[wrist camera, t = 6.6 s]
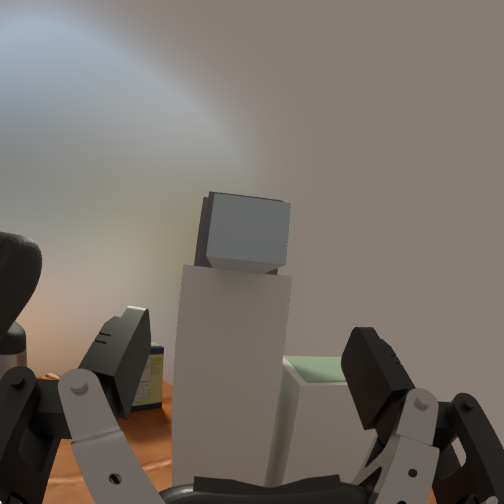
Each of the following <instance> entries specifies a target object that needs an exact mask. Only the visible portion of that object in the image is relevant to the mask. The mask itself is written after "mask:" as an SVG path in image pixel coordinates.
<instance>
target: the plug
mask: <svg viewBox="0 0 504 504" xmlns="http://www.w3.org/2000/svg"><path fill="white" fill-rule="evenodd" d="M289 217H290V203H286V202H283V201H280V200H273V199H266V198H259V197H251V196H243V195H235V194H226V193H218V192H209V197H208V204H207V210H206V217H205V224H204V231H203V239H202V246H201V254H200V262H199V266H200V267H208V268H217V269H225V270H234V271H243V272H252V273H261V274H270V275H277V270H278V268H279V267H281V266H284V265H285V264H286V254H287V243H288V230H289Z"/></svg>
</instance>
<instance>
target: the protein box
mask: <svg viewBox="0 0 504 504" xmlns="http://www.w3.org/2000/svg"><path fill="white" fill-rule="evenodd" d="M163 353H164V347H162V346H160V345H157V344H156V343H153V342H151V350H150V355H149V357H148V360H147V363H146V366H145V369H144V371H143V374H142V377H141V380H140V383H139V386H138V389H137V392H136V395H135V398H134V401H133V404H132V407H131V410H130V411H136V410H144V409H150V408H157V407H162V375H163V356H164V354H163Z"/></svg>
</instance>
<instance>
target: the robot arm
mask: <svg viewBox="0 0 504 504" xmlns="http://www.w3.org/2000/svg"><path fill="white" fill-rule="evenodd" d="M41 268H42V255H41V251H40V249H39V247H38V245H37V244H36V243H35V242H34V241H33V240H31V239H29V238H27V237H24V236H21V235H16V234H10V233H5V232H0V504H42V502H43V498H44V494H45V490H46V486H47V483H48V479H49V476H50V472H51V469H52V465H53V462H54V459H55V456H56V453H57V450H58V447H59V444H60V441H61V439H72V440H73V442H71V446H72V450H73V453H74V456H75V459H76V461H77V464H78V466H79V469H80V471H81V474H82V476H83V478H84V481H85V483H86V485H87V487H88V489H89V492H90V494H91V496H92V498H93V500H94V502H95V504H427V500H428V497H429V494H430V490H431V486H432V489H433V492H434V495H435V498H436V502H437V504H504V449H503V447H502V445H501V443H500V441H499V439H498V437H497V435H496V433H495V431H494V430H493V428H492V426H491V424H490V422H489V420H488V419H487V417H486V415H485V413H484V412H483V410H482V408H481V407H480V405H479V403H478V402H477V400H476V399H475V398H474V397H473V396H471V395H469V394H467V393H459V394H457V395H456V396H455V398H454V399H453V400H452V401H451V403H450V402H439V401H437V399H436V398H435V397H434V395H433V394H432V393H430V392H429V391H427V390H424V389H420V388H415V386H414V384H413V383H412V381H411V379H410V378H409V376H408V374H407V372H406V371H405V369H404V367H403V366H402V364H400V361H399V359H398V357H396V354H395V353H394V351H393V349H392V348H391V346H390V345H388V344H387V343H386V342H385V341H384V340H383V339H380V338H379V336H378V334H377V333H376V331H375V330H374V328H372V327H355V328H354V329H353V330H352V332H351V335H350V337H349V340H348V342H347V345H346V347H345V350H344V352H343V355H342V358H341V369H342V372H343V374H344V377H345V380H346V382H347V385H348V388H349V390H350V393H351V396H352V398H353V401H354V404H355V406H356V409H357V412H358V415H359V418H360V420H361V423H362V426H363V429H364V430H370V429H375V430H376V432H377V435H376V436H375V438H374V440H373V442H372V445H371V447H370V449H369V451H368V454H367V456H366V458H365V460H364V462H363V464H362V467H361V469H360V471H359V472H358V474H357V475H356V477H355V478H354V479H353V481H352V482H351V483H346V482H341V481H340V476H339V474H336V475H329V476H320V477H311V478H305V479H301V480H298V481H295V482H291V483H288V484H284V485H280V486H277V487H271V488H269V487H263V486H258V485H253V484H249V483H245V482H241V481H237V480H233V479H220V478H209V477H199V476H194V483H191V484H183V485H178V486H174V487H171V488H168V489H165V490H163V491H161V492H159V493H158V492H157V490H156V489H155V487H154V486H153V484H152V483H151V481H150V479H149V478H148V476H147V475H146V473H145V471H144V470H143V468H142V466H141V465H140V463H139V461H138V460H137V458H136V456H135V454H134V452H133V451H132V449H131V447H130V445H129V443H128V441H127V439H126V438H125V436H124V434H123V432H122V430H121V429H120V427H119V425H118V423H117V418H121V419H125V420H127V419H128V416H129V413H130V410H131V407H132V404H133V401H134V398H135V395H136V392H137V389H138V386H139V383H140V380H141V377H142V374H143V371H144V369H145V366H146V363H147V360H148V357H149V355H150V350H151V333H150V320H149V311H148V309H146V308H139V307H134V306H128V307H127V309H126V310H125V312H124V314H123V315H122V317H115V316H114V317H113V318H111V319H110V320H109V321H107V322H106V323H105V324H104V325H103V327H102V329H101V330H100V332H99V334H98V335H97V337H96V338H95V341H94V342H93V343H92V345H91V347H90V348H89V350H88V352H87V353H86V355H85V357H84V358H83V360H82V362H81V364H80V365H79V367H78V368H77V369H73V370H70V371H68V372H66V373H65V374H64V375H63V376H62V377H61V378H60V379H59V380H47V379H37V378H36V377H35V374H34V373H33V371H32V370H31V369H29V368H27V353H26V334H25V331H24V329H23V328H22V327H21V326H20V325H19V324H18V323H17V322H16V321H15V320H16V318H17V317H18V315H19V314H20V313H21V311H22V310H23V308H24V307H25V305H26V304H27V303H28V301H29V299H30V298H31V296H32V294H33V293H34V291H35V288H36V286H37V283H38V281H39V278H40V274H41ZM457 437H459V440H460V442H461V444H462V446H463V448H464V451H465V453H466V462H465V464H464V465H463V466H462V467H461V465H460V463H459V460H458V458H457V456H456V453H455V451H454V449H453V446H452V444H451V443H452V442H453V441H454V440H455V439H456V438H457Z"/></svg>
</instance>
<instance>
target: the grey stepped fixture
mask: <svg viewBox="0 0 504 504" xmlns="http://www.w3.org/2000/svg"><path fill="white" fill-rule="evenodd" d="M207 204H208V198H207V197H204V198H203V205H202V211H201V218H200V225H199V232H198V239H197V246H196V255H195V263H194V266H191V265H184V266H183V275H182V282H181V291H180V301H179V311H178V322H177V333H176V334H177V335H176V346H175V347H176V348H175V361H174V378H173V401H172V487H174V486H178V485H183V484H191V483H194V476H199V477H209V478H220V479H233V480H237V481H241V482H245V483H249V484H253V485H258V486H263V487H269V488H271V487H277V486H280V485H284V484H288V483H291V482H295V481H298V480H301V479H305V478H311V477H320V476H329V475H336V474H339V476H340V481H341V482H346V483H351V482H352V481H353V479H354V478H355V477H356V475H357V474H358V472H359V471H360V469H361V467H362V464H363V462H364V460H365V458H366V456H367V454H368V451H369V449H370V447H371V445H372V442H373V440H374V438H375V436H376V435H377V432H376V430H375V429H370V430H364V429H363V426H362V423H361V420H360V418H359V415H358V412H357V409H356V406H355V404H354V401H353V398H352V396H351V393H350V390H349V388H348V385H347V382H346V380H345V377H344V374H343V372H342V369H341V358H342V357H297V356H283V354H284V347H285V338H286V329H287V320H288V310H289V301H290V290H291V281H292V277H289V276H280V275H270V274H261V273H252V272H243V271H234V270H225V269H217V268H208V267H200V266H199V262H200V254H201V246H202V239H203V231H204V224H205V217H206V210H207Z"/></svg>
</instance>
